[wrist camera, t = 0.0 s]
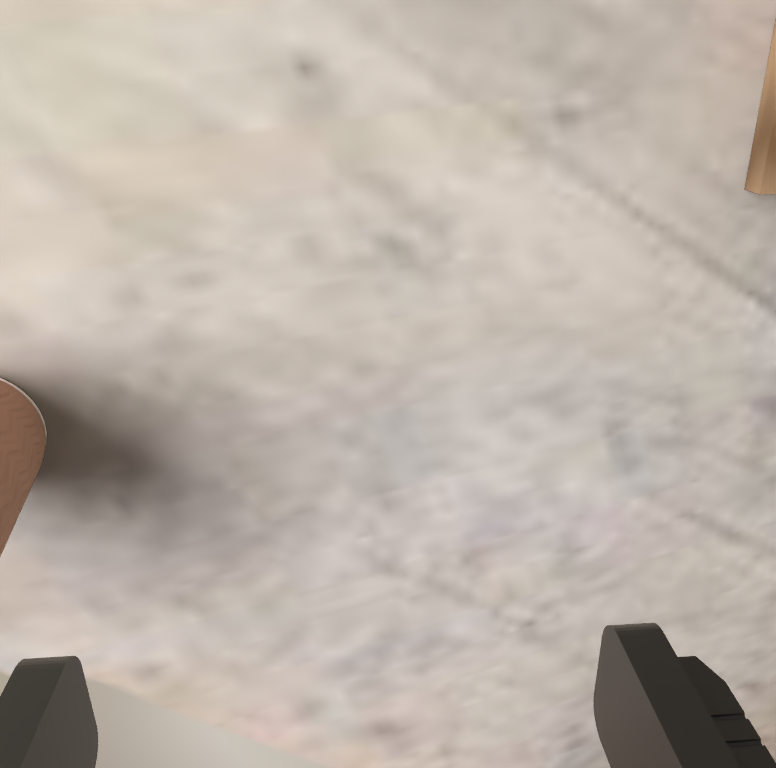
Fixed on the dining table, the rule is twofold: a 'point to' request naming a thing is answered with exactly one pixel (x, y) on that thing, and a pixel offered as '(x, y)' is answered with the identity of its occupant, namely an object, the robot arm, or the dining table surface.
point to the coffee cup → (17, 453)
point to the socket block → (765, 134)
